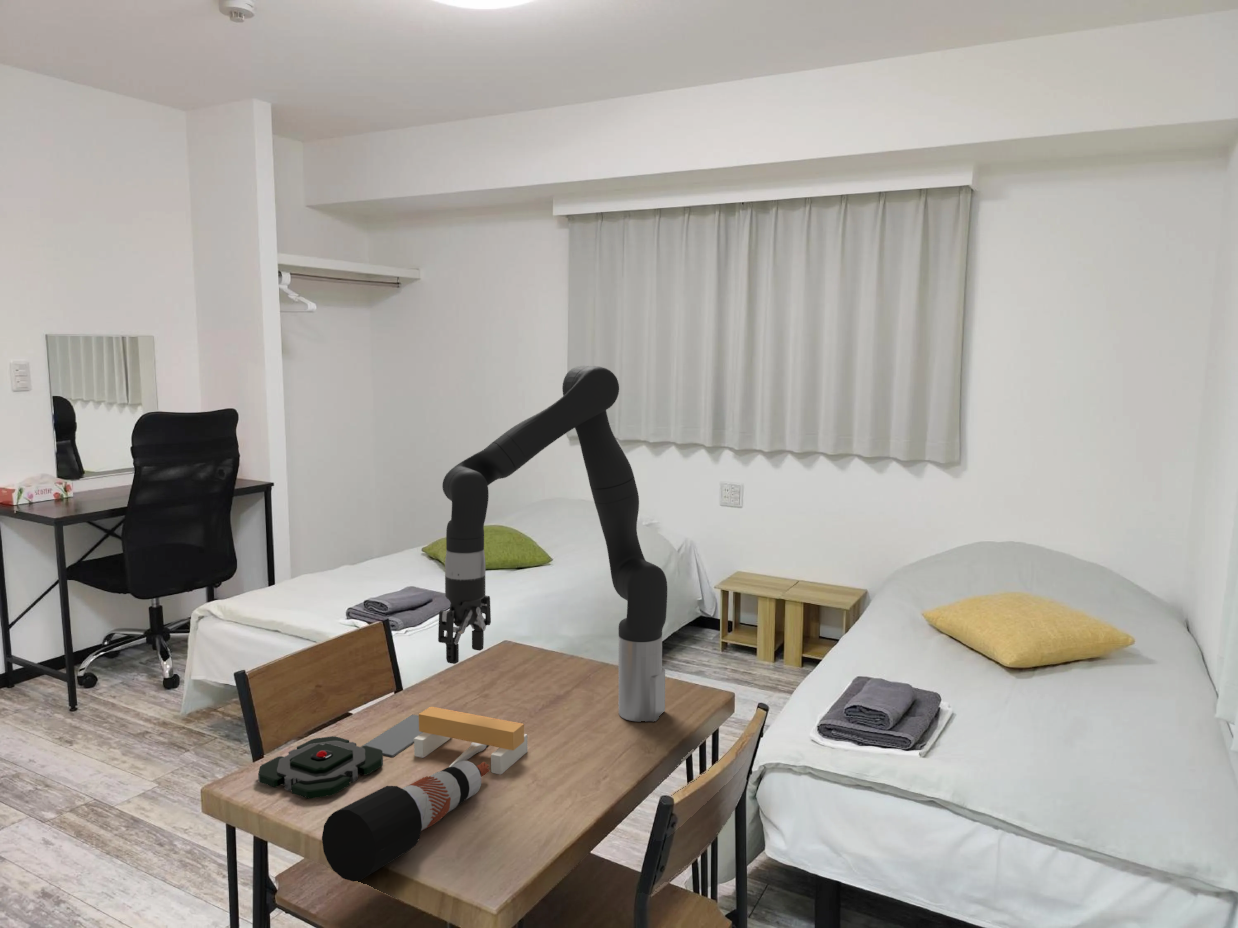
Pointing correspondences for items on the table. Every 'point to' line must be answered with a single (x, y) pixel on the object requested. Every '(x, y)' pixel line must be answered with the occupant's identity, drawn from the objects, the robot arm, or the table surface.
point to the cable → (394, 819)
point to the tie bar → (472, 728)
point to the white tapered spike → (470, 752)
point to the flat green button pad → (320, 767)
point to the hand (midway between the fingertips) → (465, 655)
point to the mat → (397, 737)
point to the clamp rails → (498, 758)
